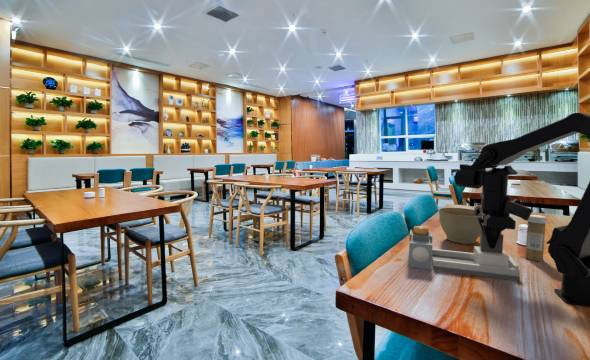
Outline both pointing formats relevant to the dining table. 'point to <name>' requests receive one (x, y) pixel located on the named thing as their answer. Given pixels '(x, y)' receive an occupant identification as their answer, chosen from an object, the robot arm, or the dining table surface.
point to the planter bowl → (460, 224)
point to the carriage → (490, 253)
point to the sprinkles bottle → (535, 237)
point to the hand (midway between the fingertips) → (490, 246)
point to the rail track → (471, 265)
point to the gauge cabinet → (420, 251)
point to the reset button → (421, 230)
